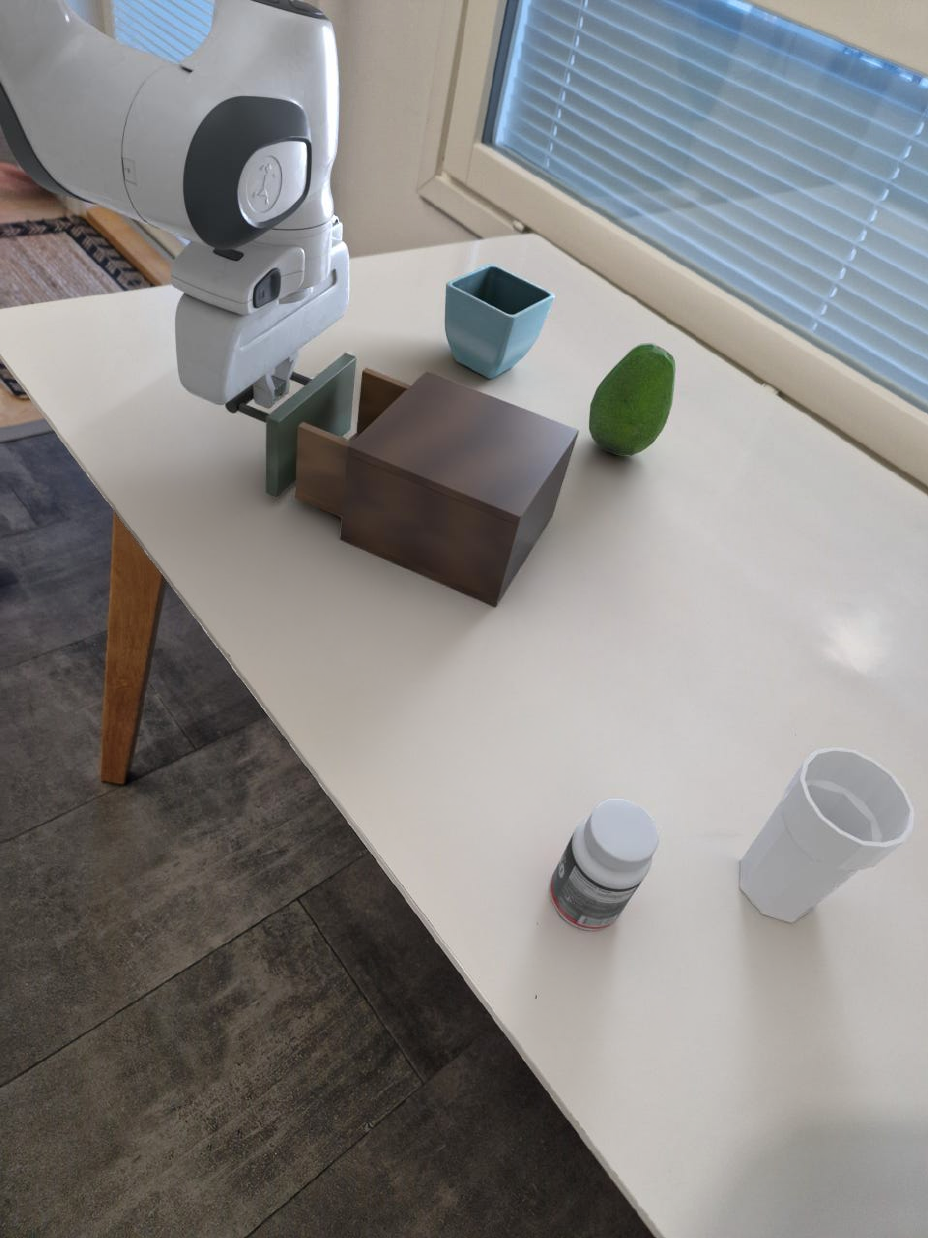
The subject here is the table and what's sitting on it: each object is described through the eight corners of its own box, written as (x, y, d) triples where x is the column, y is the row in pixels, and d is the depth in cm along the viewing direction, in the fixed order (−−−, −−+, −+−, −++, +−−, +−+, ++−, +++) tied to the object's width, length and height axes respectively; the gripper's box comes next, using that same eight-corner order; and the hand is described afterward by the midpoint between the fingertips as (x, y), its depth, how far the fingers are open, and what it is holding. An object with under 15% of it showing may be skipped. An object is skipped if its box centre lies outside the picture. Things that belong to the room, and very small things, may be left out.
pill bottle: (572, 848, 57) (608, 776, 51) (634, 892, 55) (679, 823, 49) (533, 900, 54) (568, 830, 48) (598, 948, 52) (642, 883, 46)
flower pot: (538, 368, 99) (557, 293, 93) (495, 394, 94) (512, 317, 87) (477, 336, 102) (491, 261, 96) (431, 360, 96) (443, 283, 90)
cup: (799, 837, 60) (879, 745, 52) (841, 929, 56) (936, 843, 48) (712, 842, 59) (782, 748, 51) (749, 937, 54) (832, 850, 46)
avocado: (650, 479, 88) (693, 374, 79) (575, 459, 88) (609, 352, 79) (654, 437, 93) (693, 334, 85) (583, 418, 93) (616, 314, 85)
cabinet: (339, 539, 73) (347, 445, 67) (412, 459, 83) (426, 370, 76) (495, 607, 71) (520, 517, 64) (552, 516, 81) (579, 429, 74)
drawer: (209, 469, 76) (205, 391, 70) (289, 404, 84) (291, 330, 79) (404, 554, 72) (416, 479, 67) (466, 477, 81) (481, 405, 76)
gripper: (308, 193, 74) (303, 341, 84) (153, 273, 60) (168, 439, 70) (373, 216, 73) (360, 363, 83) (231, 304, 59) (235, 468, 69)
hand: (271, 399), depth 76 cm, fingers closed
